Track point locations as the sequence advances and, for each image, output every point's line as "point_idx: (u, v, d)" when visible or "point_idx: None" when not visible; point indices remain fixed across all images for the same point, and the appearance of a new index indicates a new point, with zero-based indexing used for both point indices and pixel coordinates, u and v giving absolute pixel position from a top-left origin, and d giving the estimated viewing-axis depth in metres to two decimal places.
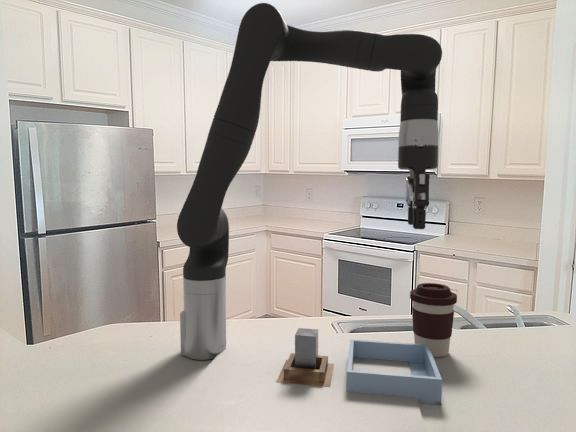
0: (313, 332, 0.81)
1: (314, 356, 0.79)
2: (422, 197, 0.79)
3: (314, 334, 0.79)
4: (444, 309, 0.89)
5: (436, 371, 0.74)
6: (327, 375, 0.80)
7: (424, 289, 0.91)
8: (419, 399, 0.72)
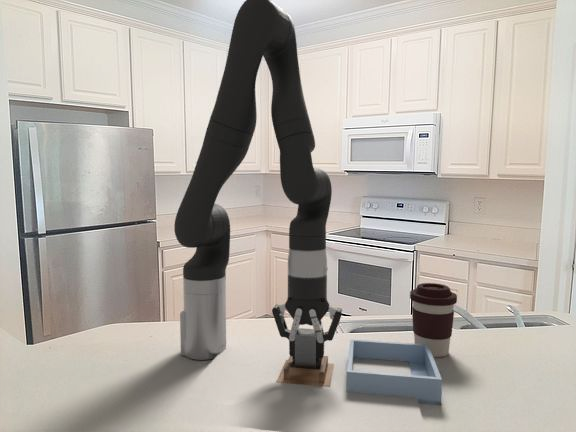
0: (313, 332, 0.81)
1: (314, 356, 0.79)
2: None
3: (314, 334, 0.79)
4: (444, 309, 0.89)
5: (436, 371, 0.74)
6: (327, 375, 0.80)
7: (424, 289, 0.91)
8: (419, 399, 0.72)
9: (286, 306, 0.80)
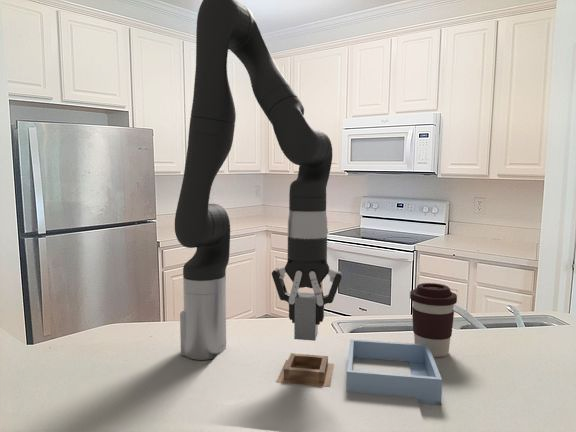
0: (313, 295, 0.80)
1: (314, 319, 0.78)
2: None
3: (314, 297, 0.79)
4: (444, 309, 0.89)
5: (436, 371, 0.74)
6: (327, 375, 0.80)
7: (424, 289, 0.91)
8: (419, 399, 0.72)
9: (286, 269, 0.79)
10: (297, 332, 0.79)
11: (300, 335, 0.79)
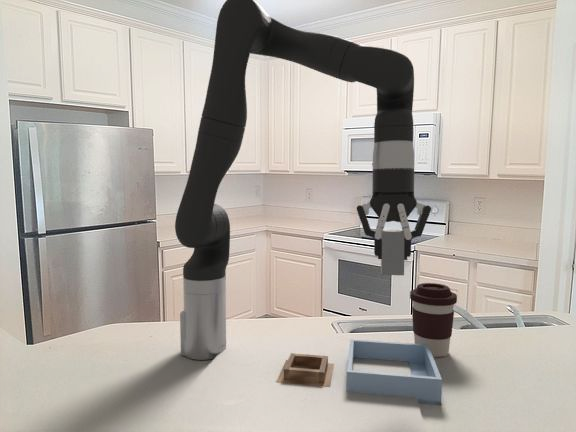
0: (399, 230, 0.78)
1: (402, 253, 0.76)
2: None
3: (401, 231, 0.77)
4: (444, 309, 0.89)
5: (436, 371, 0.74)
6: (327, 375, 0.80)
7: (424, 289, 0.91)
8: (419, 399, 0.72)
9: (371, 203, 0.78)
10: (385, 267, 0.77)
11: (387, 271, 0.77)
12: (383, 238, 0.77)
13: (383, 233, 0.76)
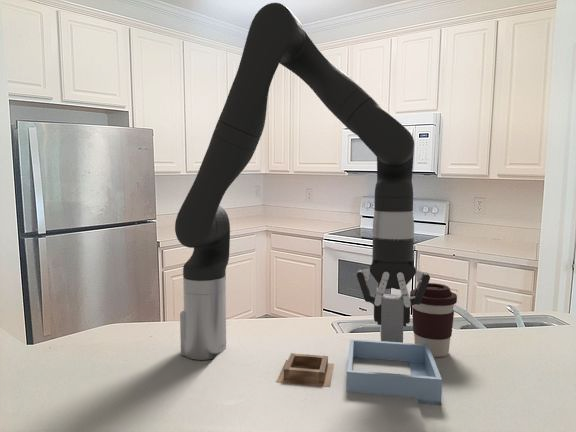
0: (398, 297, 0.79)
1: (402, 320, 0.77)
2: None
3: (401, 298, 0.78)
4: (444, 309, 0.89)
5: (436, 371, 0.74)
6: (327, 375, 0.80)
7: None
8: (419, 399, 0.72)
9: (371, 270, 0.79)
10: (384, 334, 0.78)
11: (387, 337, 0.78)
12: (383, 305, 0.78)
13: (383, 301, 0.77)
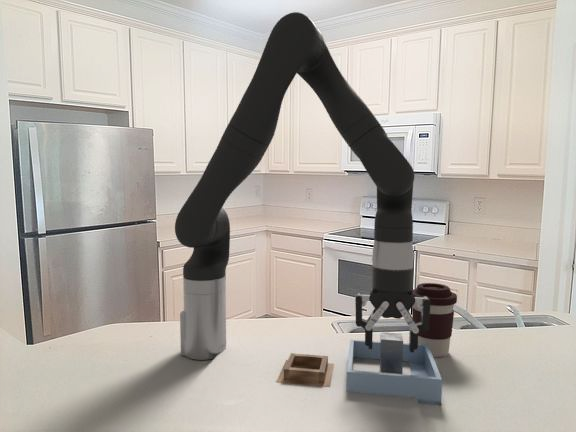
0: (398, 336, 0.80)
1: (401, 361, 0.78)
2: None
3: (400, 338, 0.78)
4: (444, 309, 0.89)
5: (436, 371, 0.74)
6: (327, 375, 0.80)
7: (424, 289, 0.91)
8: (419, 399, 0.72)
9: (371, 298, 0.79)
10: None
11: None
12: (382, 345, 0.78)
13: (382, 341, 0.78)
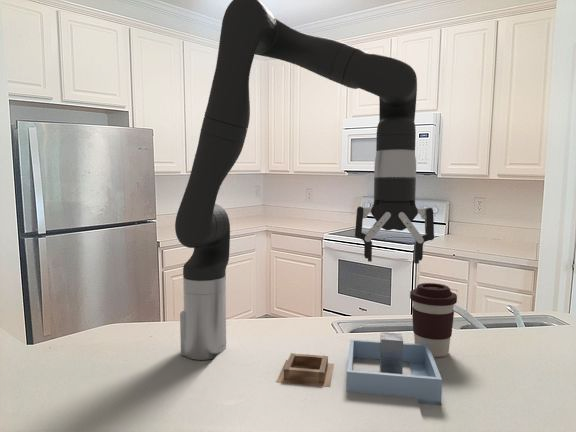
0: (398, 336, 0.80)
1: (401, 361, 0.78)
2: None
3: (400, 338, 0.78)
4: (444, 309, 0.89)
5: (436, 371, 0.74)
6: (327, 375, 0.80)
7: (424, 289, 0.91)
8: (419, 399, 0.72)
9: (373, 209, 0.78)
10: None
11: None
12: (382, 345, 0.78)
13: (382, 341, 0.78)
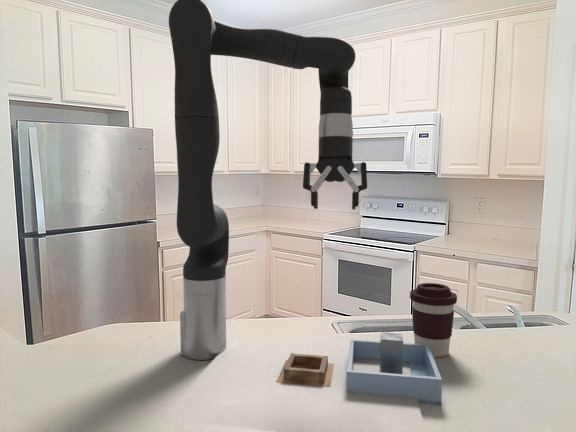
0: (398, 336, 0.80)
1: (401, 361, 0.78)
2: None
3: (400, 338, 0.78)
4: (444, 309, 0.89)
5: (436, 371, 0.74)
6: (327, 375, 0.80)
7: (424, 289, 0.91)
8: (419, 399, 0.72)
9: (317, 164, 0.93)
10: None
11: None
12: (382, 345, 0.78)
13: (382, 341, 0.78)
